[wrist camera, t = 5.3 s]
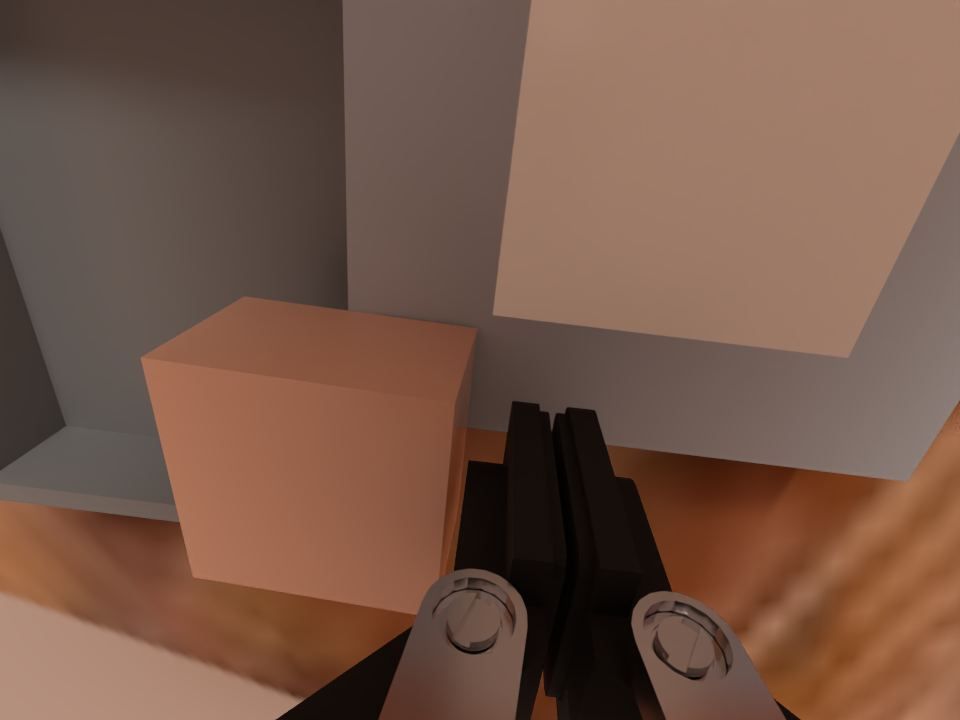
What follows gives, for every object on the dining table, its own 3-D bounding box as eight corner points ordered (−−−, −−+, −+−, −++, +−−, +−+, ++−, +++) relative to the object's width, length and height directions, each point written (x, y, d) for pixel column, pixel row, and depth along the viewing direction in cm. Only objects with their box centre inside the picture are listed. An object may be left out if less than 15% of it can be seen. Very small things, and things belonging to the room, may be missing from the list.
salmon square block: (244, 296, 10) (140, 357, 8) (477, 328, 10) (454, 402, 7) (267, 480, 12) (193, 577, 10) (458, 509, 12) (435, 617, 10)
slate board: (390, -242, 9) (334, -405, 6) (1121, -162, 9) (1400, -292, 6) (381, 357, 14) (350, 413, 11) (831, 412, 14) (907, 481, 11)
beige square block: (538, -67, 7) (554, -178, 5) (871, -29, 7) (1083, -118, 5) (498, 260, 10) (492, 315, 7) (753, 290, 9) (848, 357, 7)
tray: (-125, -154, 10) (-395, -270, 7) (373, -97, 10) (313, -191, 7) (68, 428, 16) (-30, 495, 13) (370, 465, 16) (338, 542, 13)
